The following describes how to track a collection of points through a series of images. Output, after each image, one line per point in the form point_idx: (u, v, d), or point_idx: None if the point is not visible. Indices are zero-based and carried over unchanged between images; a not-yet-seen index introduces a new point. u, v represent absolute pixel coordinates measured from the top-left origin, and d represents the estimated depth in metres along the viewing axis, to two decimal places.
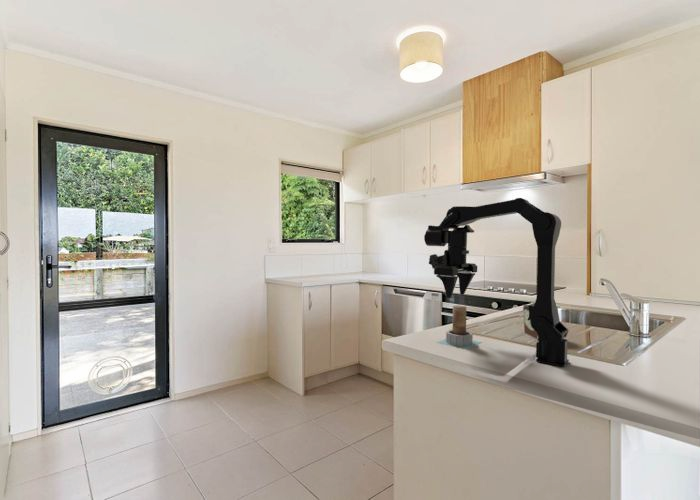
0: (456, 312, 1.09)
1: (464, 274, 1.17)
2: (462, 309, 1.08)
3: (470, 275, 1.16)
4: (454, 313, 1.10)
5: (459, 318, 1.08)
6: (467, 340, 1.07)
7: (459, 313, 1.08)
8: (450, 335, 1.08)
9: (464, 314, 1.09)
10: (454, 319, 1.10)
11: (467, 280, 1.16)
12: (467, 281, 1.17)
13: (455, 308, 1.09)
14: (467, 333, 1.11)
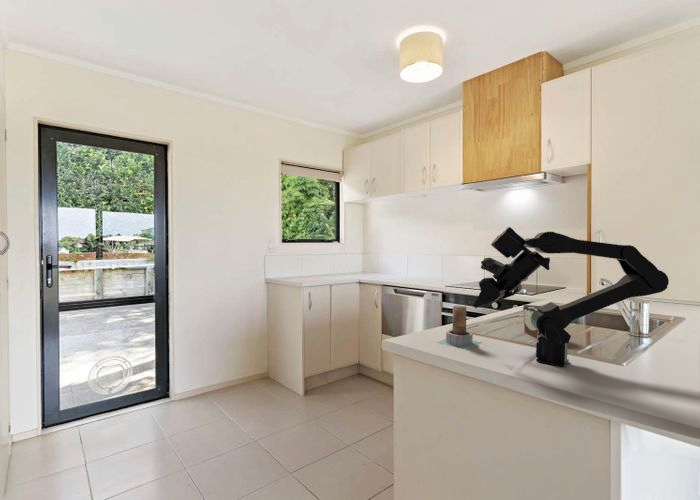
0: (456, 312, 1.09)
1: None
2: (462, 309, 1.08)
3: (508, 295, 1.06)
4: (454, 313, 1.10)
5: (459, 318, 1.08)
6: (467, 340, 1.07)
7: (459, 313, 1.08)
8: (450, 335, 1.08)
9: (464, 314, 1.09)
10: (454, 319, 1.10)
11: (502, 296, 1.07)
12: (500, 297, 1.07)
13: (455, 308, 1.09)
14: (467, 333, 1.11)
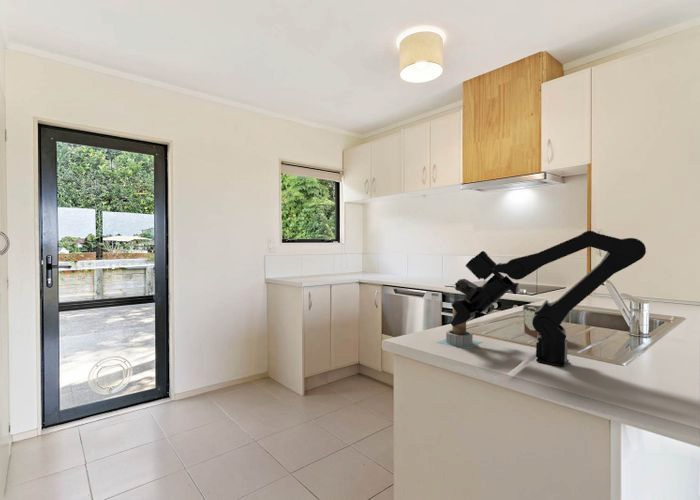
0: (456, 312, 1.09)
1: None
2: None
3: (478, 316, 1.09)
4: (454, 313, 1.10)
5: None
6: (467, 340, 1.07)
7: None
8: (450, 335, 1.08)
9: None
10: None
11: None
12: None
13: None
14: (467, 333, 1.11)
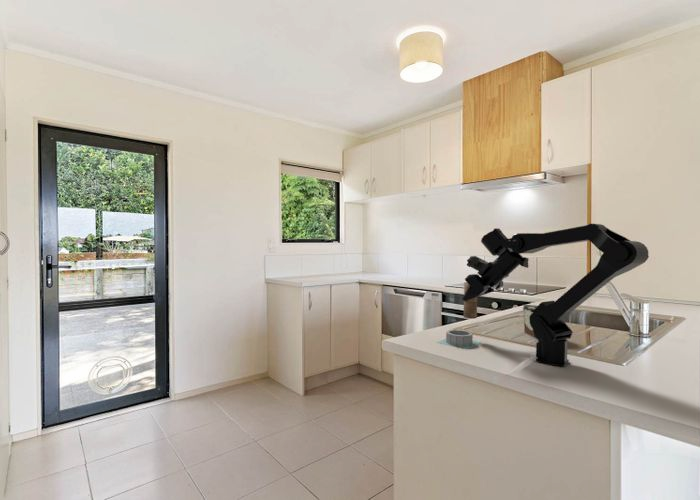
0: (467, 287, 1.13)
1: None
2: None
3: (489, 291, 1.14)
4: (465, 289, 1.14)
5: None
6: (467, 340, 1.07)
7: None
8: (450, 335, 1.08)
9: None
10: None
11: None
12: None
13: (467, 284, 1.13)
14: (467, 333, 1.11)
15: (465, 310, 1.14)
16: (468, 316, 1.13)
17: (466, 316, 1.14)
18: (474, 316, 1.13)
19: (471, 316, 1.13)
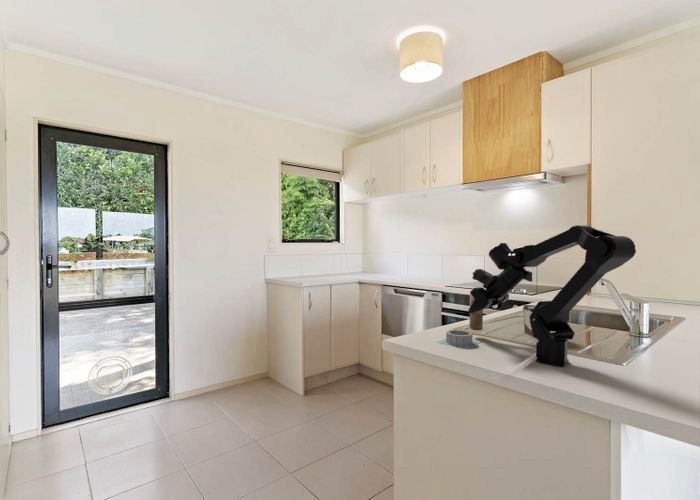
0: (473, 300, 1.16)
1: None
2: None
3: (494, 303, 1.16)
4: (471, 301, 1.16)
5: None
6: (467, 340, 1.07)
7: None
8: (450, 335, 1.08)
9: None
10: None
11: None
12: None
13: (472, 296, 1.16)
14: (467, 333, 1.11)
15: (471, 322, 1.16)
16: (474, 328, 1.15)
17: (472, 328, 1.16)
18: (480, 328, 1.15)
19: (477, 328, 1.15)
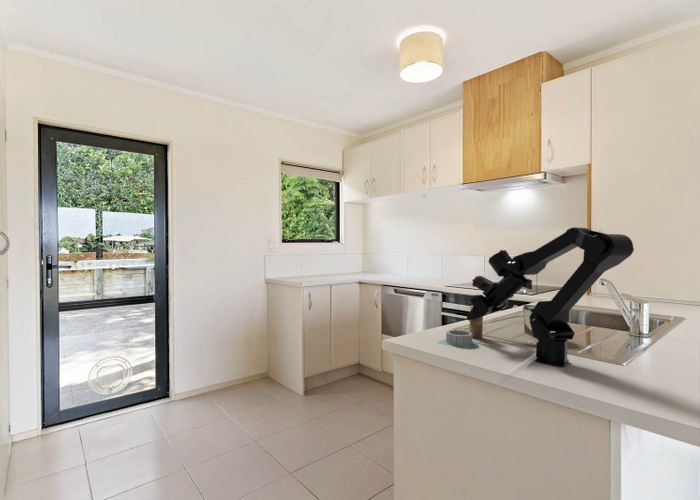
0: None
1: None
2: None
3: (495, 310, 1.17)
4: None
5: None
6: (467, 340, 1.07)
7: None
8: (450, 335, 1.08)
9: None
10: None
11: (489, 311, 1.18)
12: (488, 312, 1.18)
13: None
14: (467, 333, 1.11)
15: None
16: None
17: None
18: None
19: None
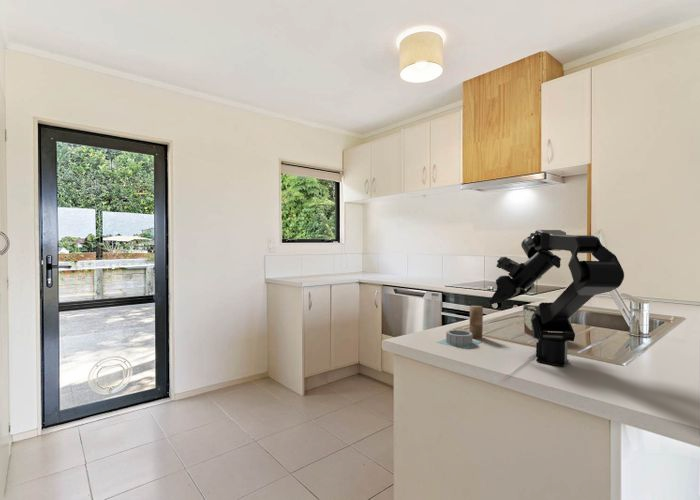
0: (473, 311, 1.16)
1: None
2: (479, 309, 1.15)
3: (522, 292, 1.11)
4: (471, 312, 1.16)
5: (476, 318, 1.15)
6: (467, 340, 1.07)
7: (476, 313, 1.15)
8: (450, 335, 1.08)
9: (481, 313, 1.15)
10: (471, 318, 1.16)
11: (516, 294, 1.12)
12: (514, 295, 1.13)
13: (472, 308, 1.16)
14: (467, 333, 1.11)
15: None
16: None
17: None
18: None
19: None
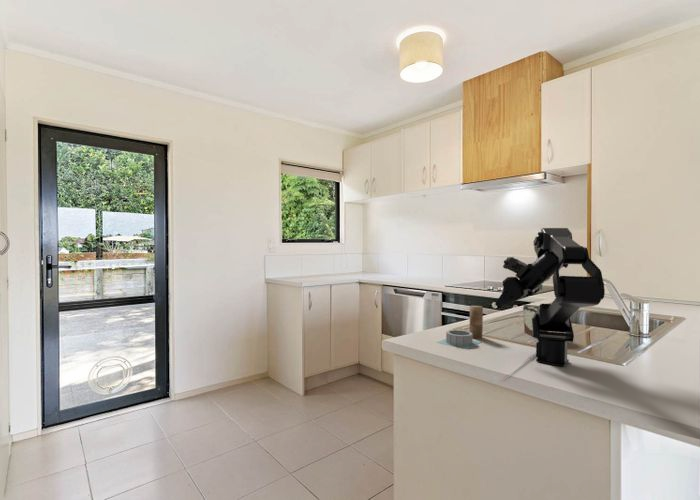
0: (473, 311, 1.16)
1: None
2: (479, 309, 1.15)
3: (529, 294, 1.07)
4: (471, 312, 1.16)
5: (476, 318, 1.15)
6: (467, 340, 1.07)
7: (476, 313, 1.15)
8: (450, 335, 1.08)
9: (481, 313, 1.15)
10: (471, 318, 1.16)
11: (523, 295, 1.08)
12: None
13: (472, 308, 1.16)
14: (467, 333, 1.11)
15: None
16: None
17: None
18: None
19: None
